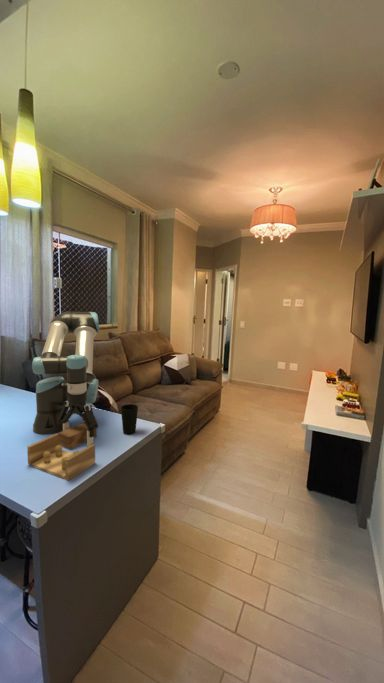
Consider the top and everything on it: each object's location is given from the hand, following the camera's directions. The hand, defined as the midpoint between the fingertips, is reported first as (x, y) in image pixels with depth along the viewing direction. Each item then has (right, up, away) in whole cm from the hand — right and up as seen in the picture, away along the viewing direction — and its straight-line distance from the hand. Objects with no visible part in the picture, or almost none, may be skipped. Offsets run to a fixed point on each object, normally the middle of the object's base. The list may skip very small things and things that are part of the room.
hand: (78, 440), depth 121 cm
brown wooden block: (0, 0, 0) cm, 0 cm away
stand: (+1, -2, -18) cm, 18 cm away
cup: (+20, 0, +10) cm, 22 cm away
